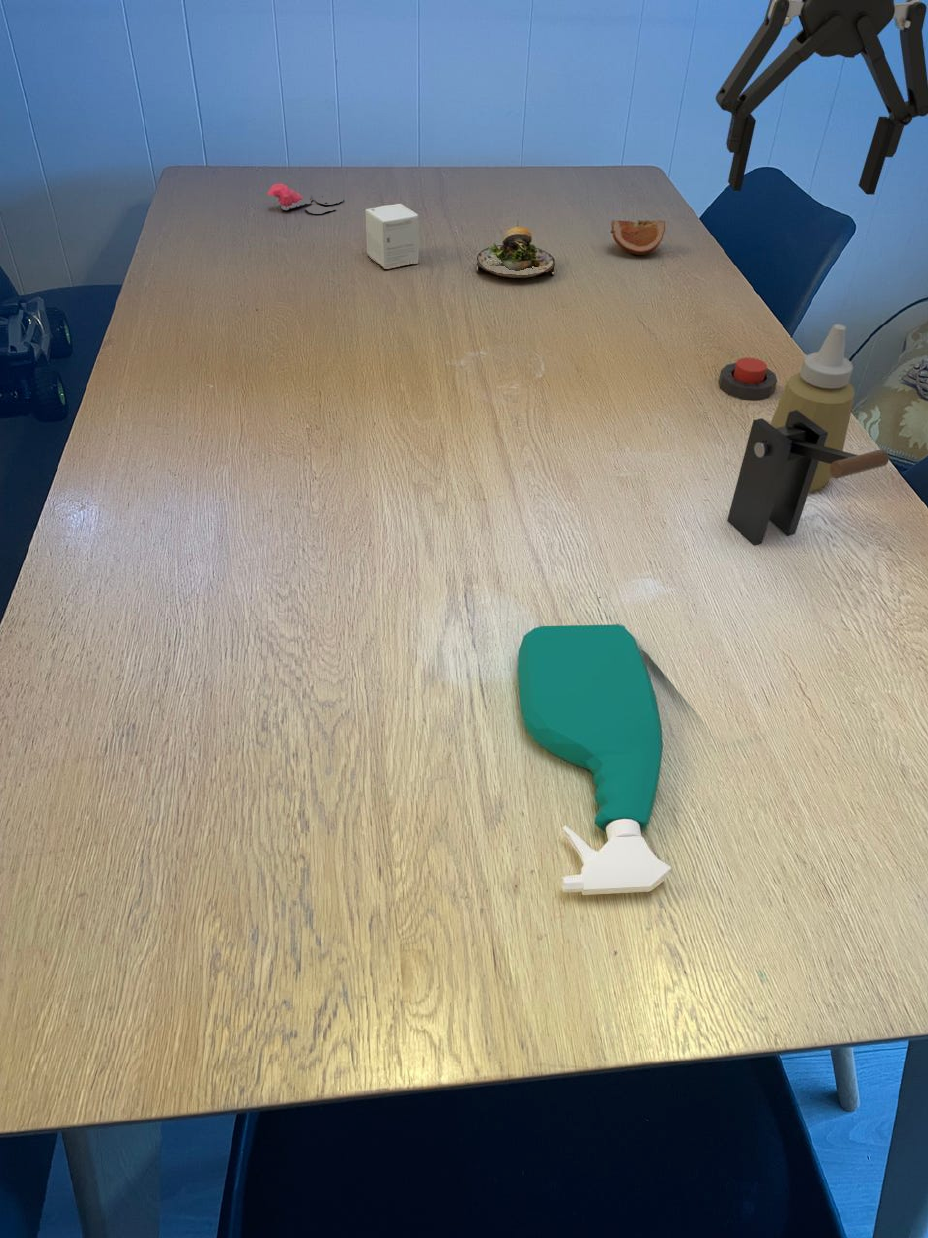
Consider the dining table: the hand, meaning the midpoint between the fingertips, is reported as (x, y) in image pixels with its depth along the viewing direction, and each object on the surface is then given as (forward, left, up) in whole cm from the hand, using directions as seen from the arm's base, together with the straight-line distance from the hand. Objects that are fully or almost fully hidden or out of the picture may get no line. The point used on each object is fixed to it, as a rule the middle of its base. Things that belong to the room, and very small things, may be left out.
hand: (800, 188), depth 96 cm
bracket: (-22, +15, -25) cm, 37 cm away
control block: (0, -1, -25) cm, 25 cm away
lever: (-27, +15, -14) cm, 33 cm away
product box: (+57, +24, -25) cm, 67 cm away
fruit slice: (+47, -13, -25) cm, 55 cm away
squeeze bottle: (-16, +6, -25) cm, 30 cm away
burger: (+47, +8, -25) cm, 54 cm away
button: (+2, -1, -22) cm, 23 cm away
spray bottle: (-40, +44, -25) cm, 65 cm away
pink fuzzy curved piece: (+85, +29, -25) cm, 93 cm away
